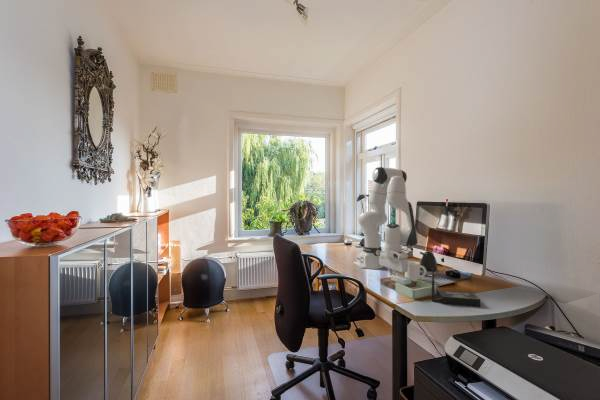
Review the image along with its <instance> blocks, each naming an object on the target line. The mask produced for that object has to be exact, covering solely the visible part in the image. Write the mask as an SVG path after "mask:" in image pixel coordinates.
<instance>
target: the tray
mask: <svg viewBox="0 0 600 400" xmlns="http://www.w3.org/2000/svg"><path fill="white" fill-rule="evenodd" d="M416 282H417V286H416V287H411V288H409V287H406V286H404V285H401V284H399V283H395V290H394V291H395V292H396V293H398V294H400V295H402V296H405V297H407V298H408V299H412V300H413V301H414V300H417V299H423V298H429V297H432V282H431V283H430V282H428V281H425V280H421V279H417V281H416ZM437 289H438V285H436V284H434V296H437Z"/></svg>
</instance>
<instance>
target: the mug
mask: <svg viewBox="0 0 600 400" xmlns="http://www.w3.org/2000/svg"><path fill="white" fill-rule="evenodd" d="M420 263H421V262H419V261H415V260H408V271H407V272H405V273H404V277H407V278H410V279H411V280H412V281H415V282H417V279H419V280H421V278H425V277H426V276H425V275H426V269H425V267H424V266H422V265H420ZM420 268H422V269H423V270H424V274H420V272H421V270H420Z"/></svg>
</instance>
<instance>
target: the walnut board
mask: <svg viewBox="0 0 600 400" xmlns="http://www.w3.org/2000/svg"><path fill="white" fill-rule="evenodd" d="M395 283H399V282H396V281H394V280H391V276H389V277H383V278H380V283H379V284H380V285H382V286H384V287H387V288H388V289H391V290H393V291H395ZM399 284H401V283H399ZM401 285H404V284H401ZM404 286H406V287H409V288H411V287H416V286H417V281H416V282H415V281H412V280H411V284H405V285H404Z"/></svg>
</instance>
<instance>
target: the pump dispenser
mask: <svg viewBox="0 0 600 400" xmlns="http://www.w3.org/2000/svg"><path fill="white" fill-rule="evenodd" d="M419 254H421V255H422V257H421V260H420V262H419V263H420V265H422V266H424V267H425V269H426V275H433V267H434V276H435V275H436V274H437V273H438V262H437V258H436V257H435V254H434V253H433V252H432V251H430V250H428V251H426V250H425V252H422V251H420V252H419ZM420 272H421V275H423V274H424V270H423V269H422V268H420Z"/></svg>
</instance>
